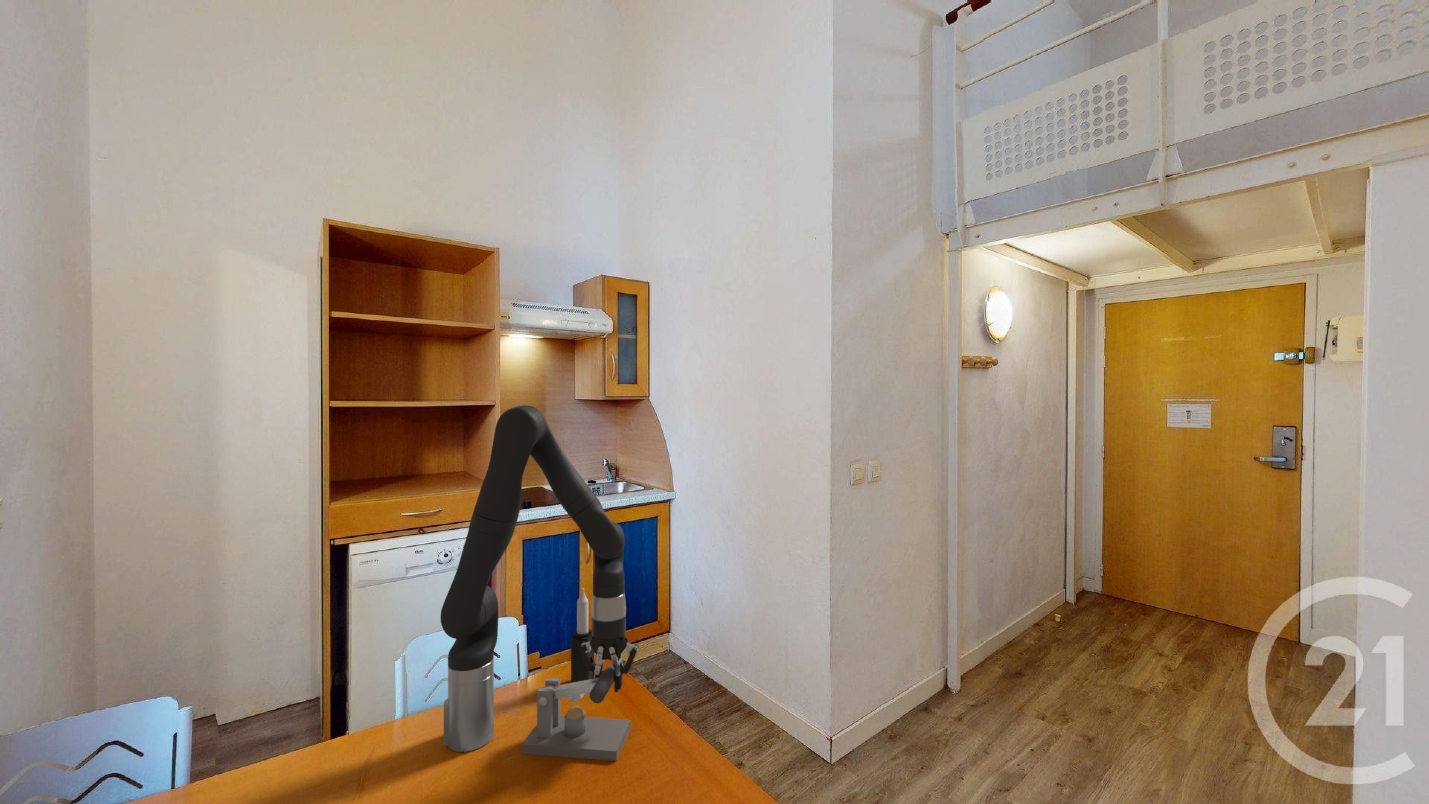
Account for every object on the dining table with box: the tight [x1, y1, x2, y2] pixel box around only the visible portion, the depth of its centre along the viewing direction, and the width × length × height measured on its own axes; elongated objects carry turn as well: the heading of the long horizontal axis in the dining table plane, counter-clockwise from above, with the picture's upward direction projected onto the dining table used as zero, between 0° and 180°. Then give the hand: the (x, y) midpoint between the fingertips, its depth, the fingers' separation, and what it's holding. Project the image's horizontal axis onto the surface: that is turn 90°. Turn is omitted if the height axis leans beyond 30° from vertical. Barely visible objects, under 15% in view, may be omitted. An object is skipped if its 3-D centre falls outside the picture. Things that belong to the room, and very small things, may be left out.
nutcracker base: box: [521, 677, 632, 762], centre depth 118 cm, size 20×11×12 cm, turn 84°
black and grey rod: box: [570, 587, 595, 683], centre depth 143 cm, size 5×5×25 cm
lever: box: [546, 664, 615, 704], centre depth 118 cm, size 16×10×4 cm, turn 84°
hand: (609, 689), depth 121 cm, fingers closed on lever, 3 cm apart
